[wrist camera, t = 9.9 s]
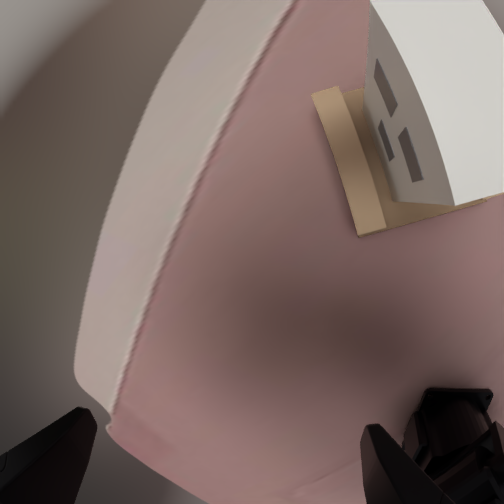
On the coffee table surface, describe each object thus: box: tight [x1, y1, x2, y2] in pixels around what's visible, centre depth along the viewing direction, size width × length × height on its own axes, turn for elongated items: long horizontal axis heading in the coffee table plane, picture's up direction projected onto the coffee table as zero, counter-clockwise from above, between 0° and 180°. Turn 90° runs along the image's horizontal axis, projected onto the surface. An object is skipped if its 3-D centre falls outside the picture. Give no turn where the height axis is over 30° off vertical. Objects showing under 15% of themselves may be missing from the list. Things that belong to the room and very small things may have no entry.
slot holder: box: [311, 86, 504, 238], centre depth 16 cm, size 9×9×4 cm
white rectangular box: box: [362, 0, 504, 206], centre depth 11 cm, size 6×4×12 cm, turn 17°
